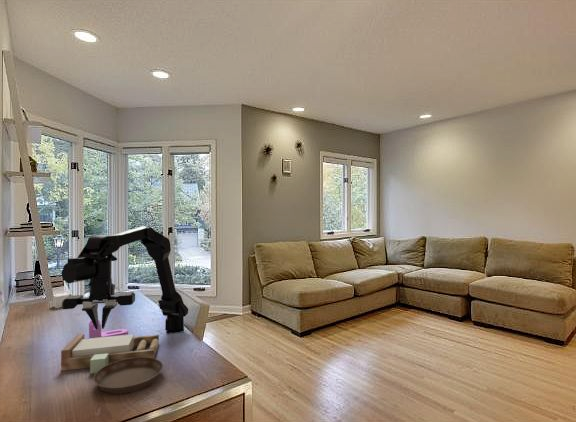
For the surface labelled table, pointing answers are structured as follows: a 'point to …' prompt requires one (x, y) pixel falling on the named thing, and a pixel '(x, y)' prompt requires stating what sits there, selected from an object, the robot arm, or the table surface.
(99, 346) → the slab
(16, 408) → the table surface
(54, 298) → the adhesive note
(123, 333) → the bracket
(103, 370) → the plant saucer
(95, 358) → the block
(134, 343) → the roller track
